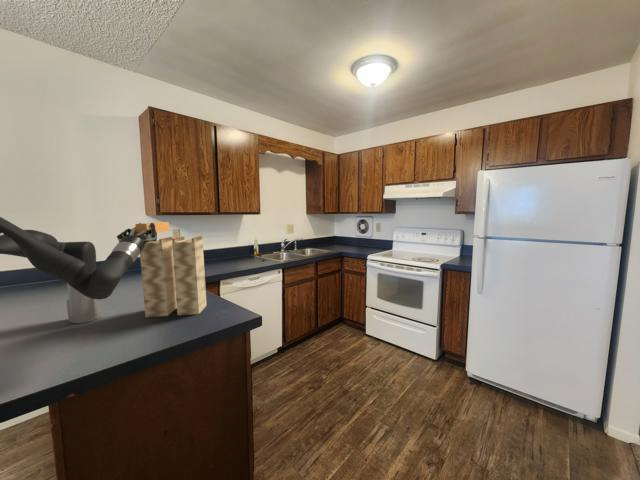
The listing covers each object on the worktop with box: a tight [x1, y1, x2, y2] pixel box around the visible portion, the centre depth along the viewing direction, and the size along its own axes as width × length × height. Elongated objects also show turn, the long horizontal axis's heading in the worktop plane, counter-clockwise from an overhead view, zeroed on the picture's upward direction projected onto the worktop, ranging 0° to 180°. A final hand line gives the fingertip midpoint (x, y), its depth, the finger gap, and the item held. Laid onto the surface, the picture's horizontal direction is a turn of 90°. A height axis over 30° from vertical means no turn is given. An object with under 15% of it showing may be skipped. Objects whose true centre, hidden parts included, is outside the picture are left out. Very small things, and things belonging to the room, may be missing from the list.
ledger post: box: [172, 235, 207, 316], centre depth 119 cm, size 9×11×34 cm
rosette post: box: [139, 236, 177, 318], centre depth 118 cm, size 9×11×34 cm
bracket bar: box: [135, 221, 170, 233], centre depth 114 cm, size 4×20×4 cm, turn 7°
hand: (147, 224), depth 108 cm, fingers closed on bracket bar, 4 cm apart
